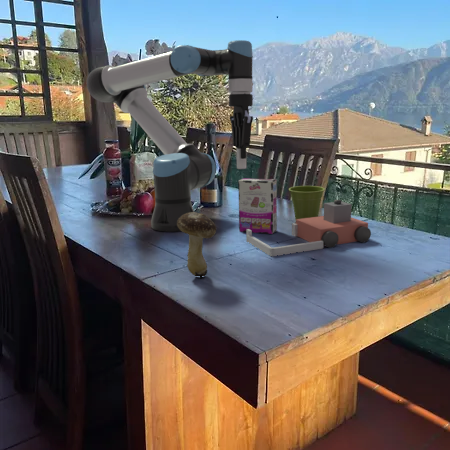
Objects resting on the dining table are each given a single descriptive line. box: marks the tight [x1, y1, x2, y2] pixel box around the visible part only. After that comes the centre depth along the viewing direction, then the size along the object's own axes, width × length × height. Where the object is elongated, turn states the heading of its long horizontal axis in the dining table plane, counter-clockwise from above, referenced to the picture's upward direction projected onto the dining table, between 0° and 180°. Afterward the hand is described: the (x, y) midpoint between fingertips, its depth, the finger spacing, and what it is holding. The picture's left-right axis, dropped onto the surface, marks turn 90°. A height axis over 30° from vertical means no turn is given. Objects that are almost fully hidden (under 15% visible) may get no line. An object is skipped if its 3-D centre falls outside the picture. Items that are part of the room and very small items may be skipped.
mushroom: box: [177, 211, 217, 277], centre depth 102 cm, size 9×9×15 cm
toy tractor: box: [245, 199, 372, 257], centre depth 129 cm, size 32×17×11 cm, turn 112°
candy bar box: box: [237, 178, 278, 235], centre depth 140 cm, size 11×5×16 cm, turn 68°
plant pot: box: [288, 185, 326, 221], centre depth 151 cm, size 12×12×11 cm
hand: (241, 168), depth 148 cm, fingers closed
